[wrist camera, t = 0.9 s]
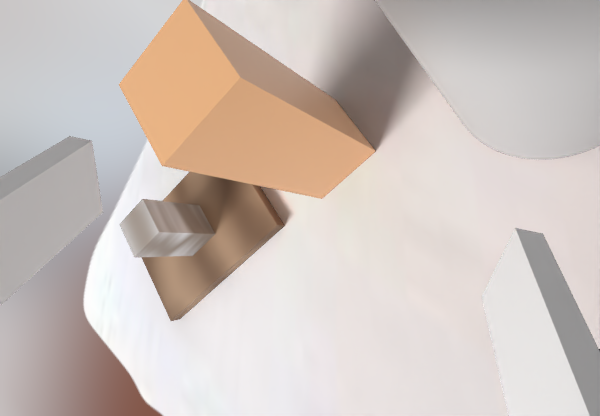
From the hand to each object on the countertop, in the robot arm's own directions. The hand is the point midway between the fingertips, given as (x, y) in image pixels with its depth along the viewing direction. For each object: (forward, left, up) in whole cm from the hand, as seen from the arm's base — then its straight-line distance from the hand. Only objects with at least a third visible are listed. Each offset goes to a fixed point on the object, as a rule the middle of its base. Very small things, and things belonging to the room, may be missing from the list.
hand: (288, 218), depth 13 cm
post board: (+3, -23, -22) cm, 32 cm away
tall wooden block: (-6, -10, -22) cm, 25 cm away
